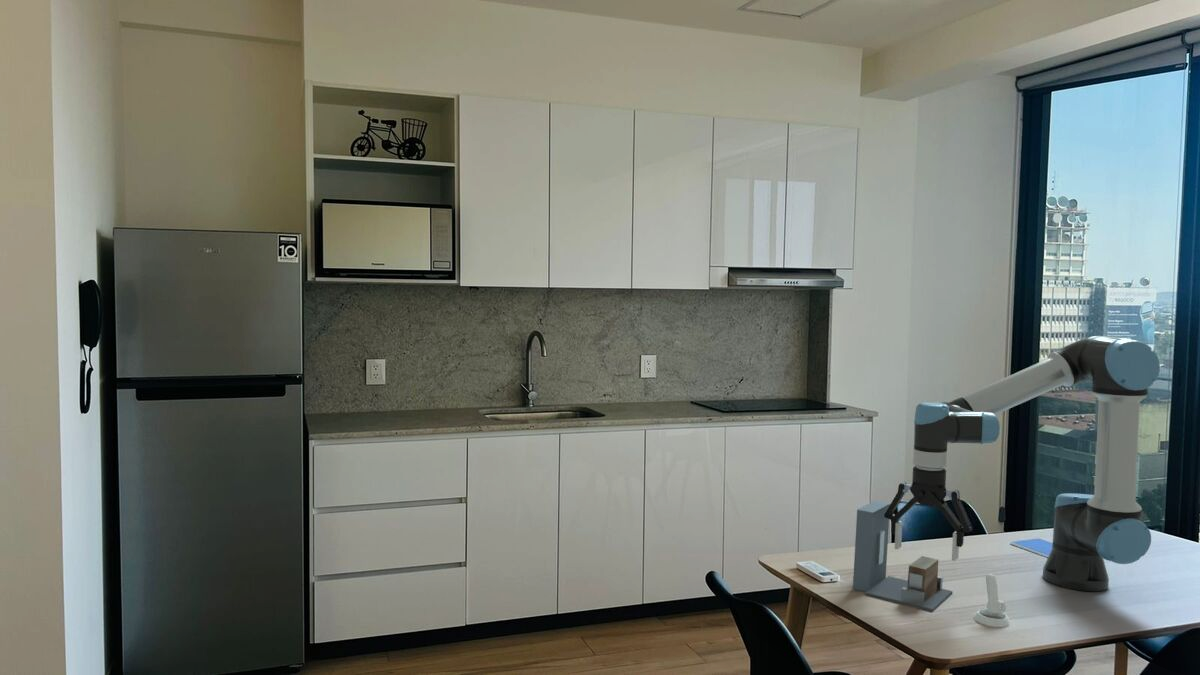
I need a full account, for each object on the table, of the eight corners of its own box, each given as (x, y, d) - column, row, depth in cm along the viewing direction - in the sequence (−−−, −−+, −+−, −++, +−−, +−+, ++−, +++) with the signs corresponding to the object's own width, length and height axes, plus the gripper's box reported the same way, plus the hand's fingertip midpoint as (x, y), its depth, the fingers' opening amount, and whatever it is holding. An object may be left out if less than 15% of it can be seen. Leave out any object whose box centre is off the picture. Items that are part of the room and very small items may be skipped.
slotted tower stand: (952, 593, 218) (957, 514, 216) (932, 611, 205) (937, 527, 204) (873, 574, 230) (877, 499, 228) (849, 590, 217) (854, 511, 216)
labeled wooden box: (936, 591, 217) (938, 559, 217) (923, 603, 209) (925, 570, 208) (920, 587, 220) (922, 555, 219) (906, 598, 211) (908, 566, 211)
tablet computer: (1096, 561, 249) (1097, 557, 249) (1065, 566, 244) (1065, 561, 244) (1038, 542, 267) (1038, 537, 267) (1008, 545, 262) (1008, 541, 262)
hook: (990, 585, 210) (1010, 577, 204) (997, 636, 203) (1018, 629, 197) (962, 579, 208) (982, 571, 202) (969, 631, 201) (990, 624, 196)
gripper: (988, 472, 208) (984, 560, 209) (883, 457, 223) (880, 539, 224) (980, 477, 202) (975, 568, 203) (873, 462, 217) (870, 546, 218)
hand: (925, 553), depth 214 cm, fingers open, 13 cm apart
